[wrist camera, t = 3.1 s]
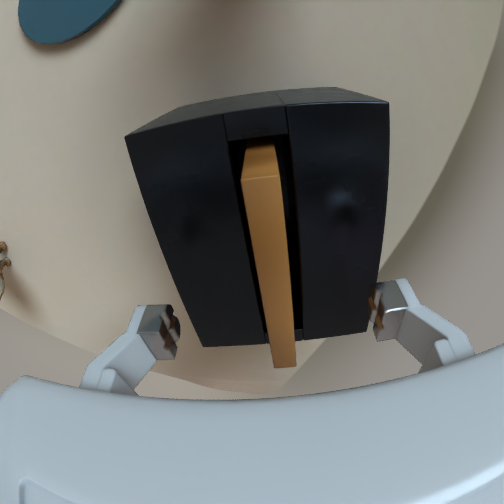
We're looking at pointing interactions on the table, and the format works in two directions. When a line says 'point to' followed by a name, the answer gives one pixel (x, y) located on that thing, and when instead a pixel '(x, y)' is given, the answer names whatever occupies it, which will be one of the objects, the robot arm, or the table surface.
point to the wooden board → (269, 245)
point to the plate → (61, 18)
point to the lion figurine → (0, 264)
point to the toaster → (294, 203)
